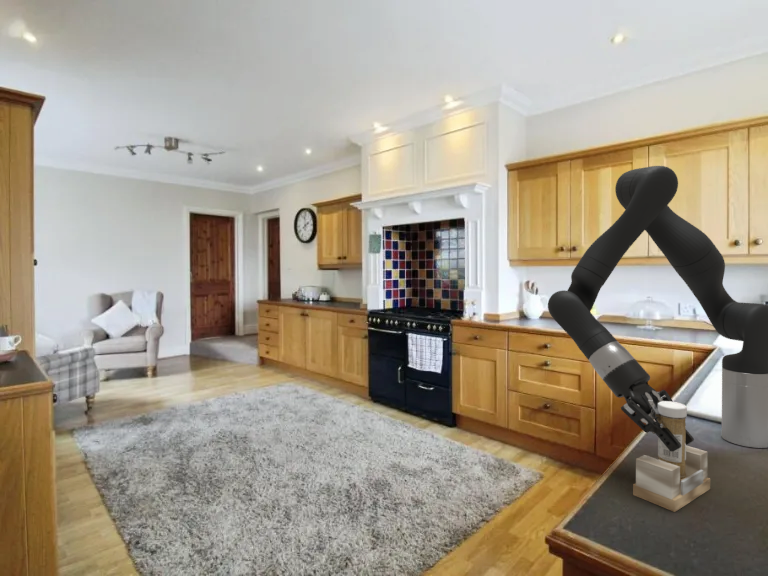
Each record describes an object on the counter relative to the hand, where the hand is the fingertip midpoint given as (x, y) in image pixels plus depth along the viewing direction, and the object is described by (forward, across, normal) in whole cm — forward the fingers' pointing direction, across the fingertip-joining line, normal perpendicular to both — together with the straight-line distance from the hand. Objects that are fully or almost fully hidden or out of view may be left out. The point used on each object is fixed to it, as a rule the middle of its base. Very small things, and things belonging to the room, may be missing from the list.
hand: (683, 445), depth 79 cm
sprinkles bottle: (+3, 0, +6) cm, 7 cm away
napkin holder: (+5, 0, +8) cm, 10 cm away
